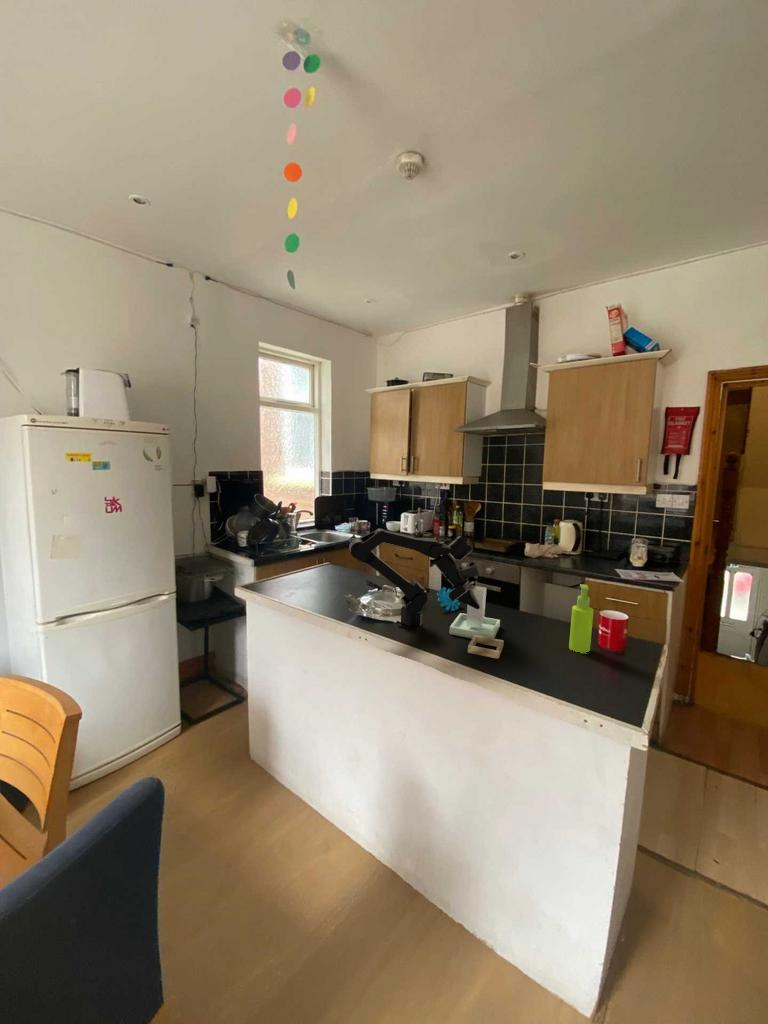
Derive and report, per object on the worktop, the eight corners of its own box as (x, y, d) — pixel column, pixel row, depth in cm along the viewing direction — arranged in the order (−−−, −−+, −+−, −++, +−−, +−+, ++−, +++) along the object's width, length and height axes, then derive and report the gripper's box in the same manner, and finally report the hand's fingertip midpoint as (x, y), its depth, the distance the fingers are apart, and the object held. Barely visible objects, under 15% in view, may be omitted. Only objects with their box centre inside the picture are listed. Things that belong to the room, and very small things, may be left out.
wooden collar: (467, 652, 127) (468, 646, 127) (474, 640, 135) (474, 634, 135) (498, 658, 123) (498, 652, 123) (503, 646, 131) (503, 640, 131)
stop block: (466, 625, 142) (468, 589, 140) (469, 620, 146) (471, 585, 145) (481, 628, 140) (483, 591, 138) (484, 623, 144) (486, 587, 143)
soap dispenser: (588, 645, 134) (593, 583, 131) (591, 654, 127) (596, 590, 125) (567, 642, 136) (573, 581, 133) (569, 651, 129) (575, 587, 126)
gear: (444, 610, 157) (435, 586, 163) (435, 617, 161) (427, 594, 166) (466, 609, 163) (457, 586, 168) (457, 616, 167) (449, 593, 172)
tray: (449, 634, 140) (449, 626, 139) (459, 619, 152) (460, 613, 152) (492, 642, 134) (493, 634, 134) (499, 626, 147) (500, 619, 147)
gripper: (460, 561, 133) (494, 600, 130) (473, 550, 150) (503, 584, 147) (435, 581, 137) (467, 620, 134) (450, 568, 154) (479, 602, 151)
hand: (480, 606), depth 142 cm, fingers closed on stop block, 5 cm apart
